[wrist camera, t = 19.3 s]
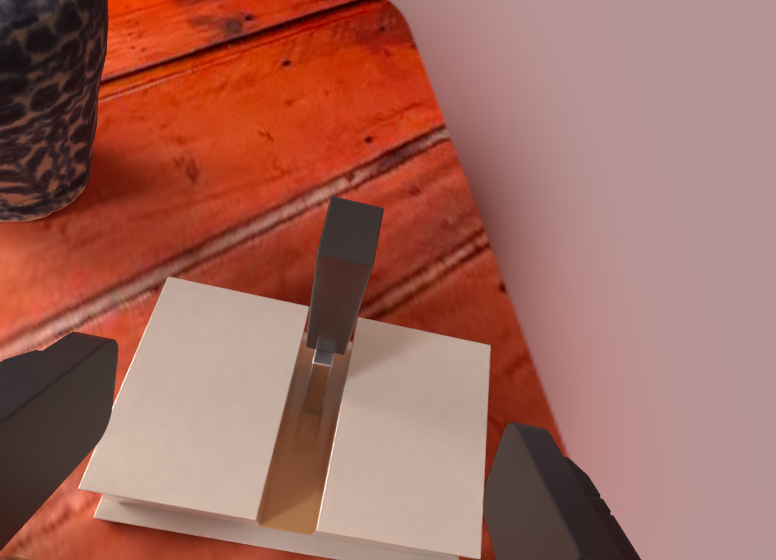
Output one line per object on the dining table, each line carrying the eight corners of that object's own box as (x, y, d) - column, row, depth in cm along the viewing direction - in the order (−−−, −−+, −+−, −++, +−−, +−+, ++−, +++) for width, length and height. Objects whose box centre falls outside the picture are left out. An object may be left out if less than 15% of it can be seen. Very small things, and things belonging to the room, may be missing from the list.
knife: (337, 361, 36) (387, 192, 19) (326, 417, 34) (369, 283, 17) (309, 355, 35) (335, 180, 19) (296, 411, 33) (311, 271, 17)
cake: (467, 371, 39) (505, 333, 33) (452, 579, 32) (497, 585, 26) (179, 311, 37) (158, 258, 31) (97, 519, 30) (47, 508, 24)
